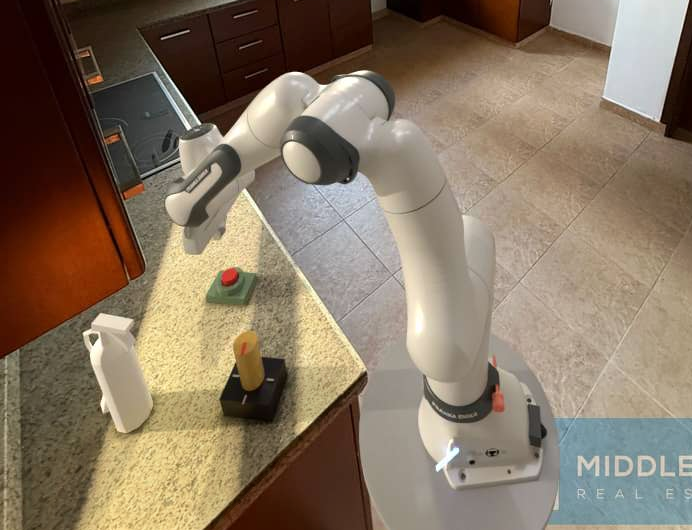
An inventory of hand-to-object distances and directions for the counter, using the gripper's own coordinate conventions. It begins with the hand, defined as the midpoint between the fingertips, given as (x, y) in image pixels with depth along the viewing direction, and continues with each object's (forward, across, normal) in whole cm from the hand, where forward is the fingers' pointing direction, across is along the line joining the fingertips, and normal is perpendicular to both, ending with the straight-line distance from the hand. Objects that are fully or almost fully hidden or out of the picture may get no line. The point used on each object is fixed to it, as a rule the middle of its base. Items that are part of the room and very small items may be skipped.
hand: (220, 235), depth 103 cm
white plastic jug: (+18, -26, +8) cm, 33 cm away
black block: (+18, -21, -16) cm, 32 cm away
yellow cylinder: (+13, -21, -16) cm, 29 cm away
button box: (+18, 0, 0) cm, 18 cm away
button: (+14, 0, 0) cm, 14 cm away
